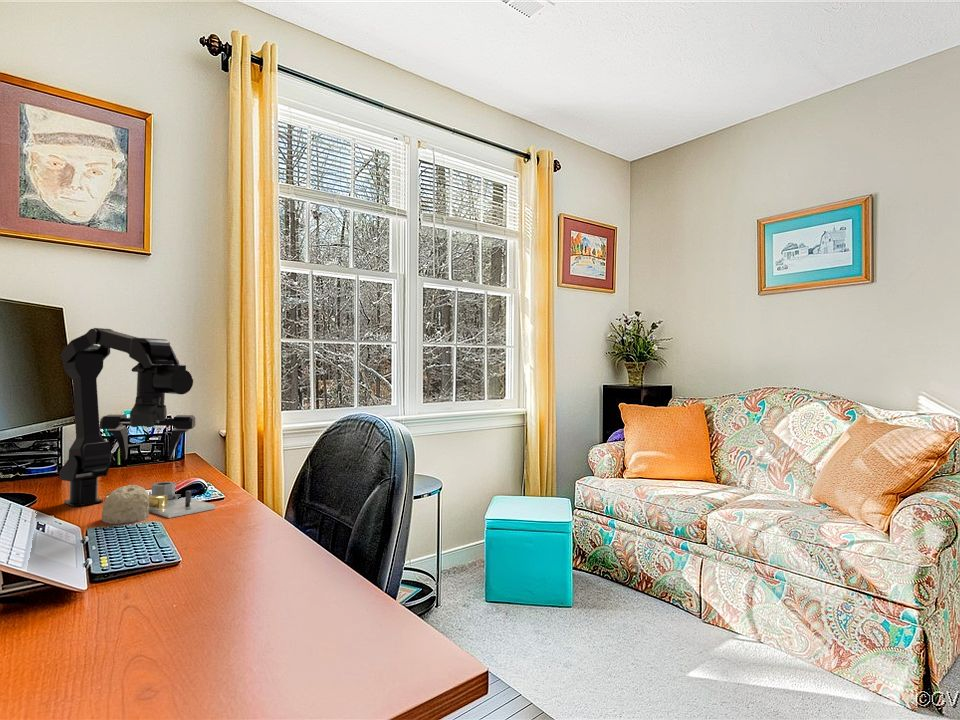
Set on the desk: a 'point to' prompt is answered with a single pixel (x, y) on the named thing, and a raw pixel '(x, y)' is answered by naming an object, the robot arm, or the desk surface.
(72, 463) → the robot arm
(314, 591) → the desk surface
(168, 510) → the carrier plate
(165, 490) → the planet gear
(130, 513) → the brown rounded stone
